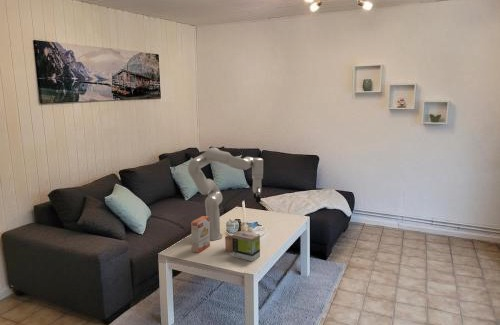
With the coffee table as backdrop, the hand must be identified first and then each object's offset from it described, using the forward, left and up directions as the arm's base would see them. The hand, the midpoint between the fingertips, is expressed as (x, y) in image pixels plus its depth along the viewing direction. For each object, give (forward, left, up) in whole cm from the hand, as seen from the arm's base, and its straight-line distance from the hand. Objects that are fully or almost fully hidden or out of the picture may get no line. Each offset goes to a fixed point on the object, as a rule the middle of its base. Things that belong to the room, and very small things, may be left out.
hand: (257, 200), depth 266 cm
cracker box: (-39, -10, -30) cm, 50 cm away
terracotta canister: (-20, -14, -30) cm, 38 cm away
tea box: (-10, -25, -30) cm, 40 cm away
